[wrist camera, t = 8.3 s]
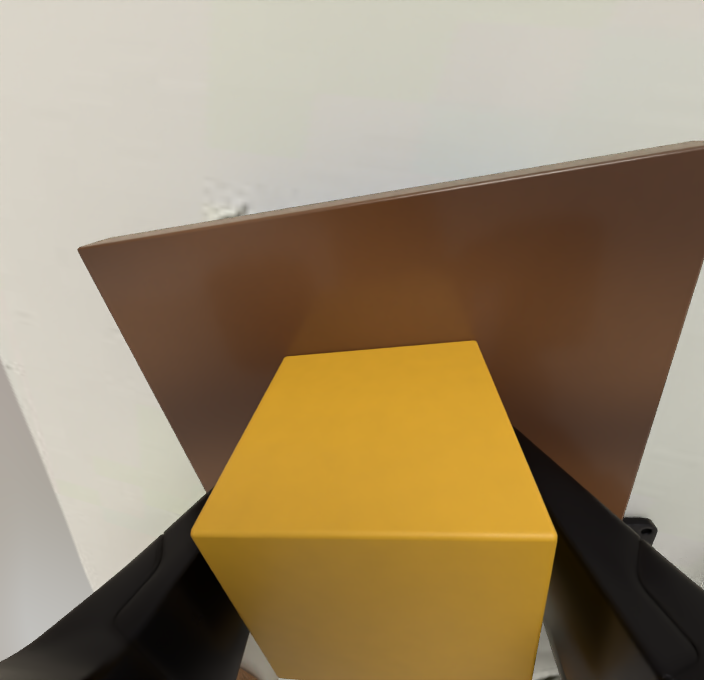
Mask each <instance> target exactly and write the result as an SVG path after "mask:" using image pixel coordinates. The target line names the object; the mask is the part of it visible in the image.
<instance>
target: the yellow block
mask: <svg viewBox="0 0 704 680" xmlns="http://www.w3.org/2000/svg"><path fill="white" fill-rule="evenodd" d="M557 537H558V535H557V533H556V530H555V528H554V526H553V523H552V521H551V518H550V516H549V514H548V511H547V509H546V506H545V504H544V502H543V499H542V497H541V495H540V492H539V490H538V487H537V485H536V483H535V480H534V478H533V475H532V473H531V471H530V468H529V466H528V463H527V461H526V459H525V456H524V454H523V451H522V449H521V447H520V444H519V442H518V439H517V437H516V435H515V432H514V430H513V428H512V425H511V423H510V420H509V418H508V416H507V413H506V411H505V408H504V406H503V404H502V401H501V399H500V396H499V394H498V392H497V389H496V387H495V384H494V382H493V380H492V377H491V375H490V373H489V370H488V368H487V365H486V363H485V361H484V358H483V356H482V353H481V351H480V349H479V346H478V344H477V342H476V341H474V340H471V341H460V342H448V343H436V344H425V345H413V346H402V347H390V348H378V349H367V350H355V351H344V352H332V353H320V354H309V355H297V356H287V357H285V358H284V359H283V361H282V363H281V365H280V367H279V368H278V370H277V372H276V374H275V376H274V378H273V379H272V381H271V383H270V385H269V387H268V389H267V391H266V392H265V394H264V396H263V398H262V400H261V402H260V403H259V405H258V407H257V409H256V411H255V413H254V415H253V416H252V418H251V420H250V422H249V424H248V426H247V427H246V429H245V431H244V433H243V435H242V437H241V439H240V440H239V442H238V444H237V446H236V448H235V450H234V452H233V453H232V455H231V457H230V459H229V461H228V463H227V464H226V466H225V468H224V470H223V472H222V474H221V476H220V477H219V479H218V481H217V483H216V485H215V487H214V488H213V490H212V492H211V494H210V496H209V498H208V500H207V501H206V503H205V505H204V507H203V509H202V511H201V513H200V514H199V516H198V518H197V520H196V522H195V524H194V525H193V527H192V529H191V538H192V539H193V541H194V542H195V544H196V546H197V547H198V549H199V551H200V552H201V554H202V555H203V557H204V559H205V560H206V562H207V563H208V565H209V567H210V568H211V570H212V572H213V573H214V575H215V576H216V578H217V580H218V581H219V583H220V584H221V586H222V588H223V589H224V591H225V593H226V594H227V596H228V597H229V599H230V601H231V602H232V604H233V606H234V607H235V609H236V610H237V612H238V614H239V615H240V617H241V618H242V620H243V622H244V623H245V625H246V627H247V628H248V630H249V631H250V633H251V635H252V636H253V638H254V640H255V641H256V643H257V644H258V646H259V648H260V649H261V651H262V652H263V654H264V656H265V657H266V659H267V661H268V662H269V664H270V665H271V667H272V669H273V670H274V672H275V674H276V675H277V676H278V677H279V678H284V679H296V680H532V676H533V671H534V665H535V660H536V654H537V649H538V643H539V638H540V633H541V627H542V622H543V616H544V611H545V605H546V600H547V594H548V589H549V583H550V578H551V573H552V567H553V562H554V556H555V551H556V545H557Z"/></svg>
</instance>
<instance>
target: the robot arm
mask: <svg viewBox="0 0 704 680" xmlns="http://www.w3.org/2000/svg"><path fill="white" fill-rule="evenodd" d="M512 428H513V430H514V432H515V435H516V437H517V439H518V442H519V444H520V447H521V449H522V451H523V454H524V456H525V459H526V461H527V463H528V466H529V468H530V471H531V473H532V475H533V478H534V480H535V483H536V485H537V487H538V490H539V492H540V495H541V497H542V499H543V502H544V504H545V506H546V509H547V511H548V514H549V516H550V518H551V521H552V523H553V526H554V528H555V530H556V533H557V535H558V537H557V545H556V551H555V556H554V562H553V567H552V573H551V578H550V583H549V589H548V594H547V600H546V605H545V611H544V616H543V623H544V626H545V629H546V633H547V636H548V639H549V642H550V646H551V649H552V652H553V655H554V658H555V662H556V665H557V668H558V671H559V675H560V678H561V680H704V590H703V589H702V588H701V587H699V586H698V585H697V584H696V583H694V582H693V581H692V580H691V579H689V578H688V577H687V576H686V575H685V574H684V573H682V572H681V571H680V570H679V569H678V568H676V567H675V566H674V565H673V564H672V563H670V562H669V561H668V560H667V559H666V558H665V557H663V556H662V555H661V554H660V553H659V552H658V551H656V550H655V549H654V548H653V547H652V544H653V541H654V539H655V536H656V534H657V528H656V526H655V525H654V523H653V522H652V521H651V520H650V519H648V518H623V520H621V519H620V518H618V517H617V516H616V515H615V514H614V513H613V512H612V511H610V510H609V509H608V508H607V507H606V506H605V505H604V504H602V503H601V502H600V501H599V500H598V499H597V498H596V497H594V496H593V495H592V494H591V493H590V492H589V491H588V490H586V489H585V488H584V487H583V486H582V485H581V484H580V483H578V482H577V481H576V480H575V479H574V478H573V477H572V476H570V475H569V474H568V473H567V472H566V471H565V470H564V469H562V468H561V467H560V466H559V465H558V464H557V463H556V462H554V461H553V460H552V459H551V458H550V457H549V456H548V455H546V454H545V453H544V452H543V451H542V450H541V449H540V448H538V447H537V446H536V445H535V444H534V443H533V442H532V441H530V440H529V439H528V438H527V437H526V436H525V435H524V434H522V433H521V432H520V431H519V430H518V429H517V428H515V427H514V426H512ZM214 487H215V486H214ZM214 487H213V488H214ZM213 488H212V489H211V490H209V491H208V492H207V493H206V494H205V495H204V496H203V497H202V498H201V499H200V500H199V501H197V502H196V503H195V504H194V505H193V506H192V507H191V508H190V509H189V510H188V511H187V512H185V513H184V514H183V515H182V516H181V517H180V518H179V519H178V520H177V521H176V522H174V523H173V524H172V525H171V526H170V527H169V528H168V529H167V530H166V531H165V532H164V535H163V534H162V535H160V536H159V537H158V538H157V539H156V540H155V541H154V542H153V543H151V544H150V545H149V546H148V547H147V548H146V549H145V550H144V551H143V552H141V553H140V554H139V555H138V556H137V557H136V558H135V559H133V560H132V561H131V562H130V563H129V564H128V565H127V566H126V567H124V568H123V569H122V570H121V571H120V572H118V573H117V574H116V575H115V576H114V577H112V578H111V579H110V580H109V581H108V582H106V583H105V584H104V585H103V586H102V587H100V588H99V589H98V590H97V591H95V592H94V593H93V594H92V595H90V596H89V597H88V598H87V599H86V600H84V601H83V602H82V603H81V604H79V605H78V606H77V607H76V608H74V609H73V610H72V611H71V612H69V613H68V614H67V615H66V616H64V617H63V618H62V619H61V620H60V621H58V622H57V623H56V624H55V625H53V626H52V627H51V628H50V629H48V630H47V631H46V632H45V633H44V634H42V635H41V636H40V637H38V638H37V639H36V640H35V641H33V642H32V643H30V644H29V645H27V646H26V647H25V648H23V649H22V650H20V651H19V652H17V653H15V654H14V655H12V656H10V657H9V658H7V659H5V660H3V661H1V662H0V680H236V679H237V676H238V672H239V669H240V665H241V662H242V658H243V654H244V651H245V647H246V644H247V640H248V637H249V633H250V631H249V630H248V628H247V627H246V625H245V623H244V622H243V620H242V618H241V617H240V615H239V614H238V612H237V610H236V609H235V607H234V606H233V604H232V602H231V601H230V599H229V597H228V596H227V594H226V593H225V591H224V589H223V588H222V586H221V584H220V583H219V581H218V580H217V578H216V576H215V575H214V573H213V572H212V570H211V568H210V567H209V565H208V563H207V562H206V560H205V559H204V557H203V555H202V554H201V552H200V551H199V549H198V547H197V546H196V544H195V542H194V541H193V539H192V538H191V529H192V527H193V525H194V524H195V522H196V520H197V518H198V516H199V514H200V513H201V511H202V509H203V507H204V505H205V503H206V501H207V500H208V498H209V496H210V494H211V492H212V490H213Z"/></svg>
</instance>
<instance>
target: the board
mask: <svg viewBox="0 0 704 680" xmlns="http://www.w3.org/2000/svg"><path fill="white" fill-rule="evenodd" d="M78 252H79V254H80V256H81V258H82V260H83V262H84V264H85V266H86V267H87V269H88V271H89V273H90V275H91V277H92V279H93V281H94V282H95V284H96V286H97V288H98V290H99V292H100V294H101V296H102V297H103V299H104V301H105V303H106V305H107V307H108V309H109V311H110V313H111V314H112V316H113V318H114V320H115V322H116V324H117V326H118V328H119V329H120V331H121V333H122V335H123V337H124V339H125V341H126V343H127V344H128V346H129V348H130V350H131V352H132V354H133V356H134V358H135V359H136V361H137V363H138V365H139V367H140V369H141V371H142V373H143V374H144V376H145V378H146V380H147V382H148V384H149V386H150V388H151V389H152V391H153V393H154V395H155V397H156V399H157V401H158V403H159V404H160V406H161V408H162V410H163V412H164V414H165V416H166V418H167V419H168V421H169V423H170V425H171V427H172V429H173V431H174V433H175V434H176V436H177V438H178V440H179V442H180V444H181V446H182V448H183V449H184V451H185V453H186V455H187V457H188V459H189V461H190V463H191V464H192V466H193V468H194V470H195V472H196V474H197V476H198V478H199V479H200V481H201V483H202V485H203V487H204V489H205V491H206V493H207V492H208V491H209V490H211V489H212V488H213V487H214V486H215V485H216V483H217V481H218V479H219V477H220V476H221V474H222V472H223V470H224V468H225V466H226V464H227V463H228V461H229V459H230V457H231V455H232V453H233V452H234V450H235V448H236V446H237V444H238V442H239V440H240V439H241V437H242V435H243V433H244V431H245V429H246V427H247V426H248V424H249V422H250V420H251V418H252V416H253V415H254V413H255V411H256V409H257V407H258V405H259V403H260V402H261V400H262V398H263V396H264V394H265V392H266V391H267V389H268V387H269V385H270V383H271V381H272V379H273V378H274V376H275V374H276V372H277V370H278V368H279V367H280V365H281V363H282V361H283V359H284V358H285V357H287V356H297V355H309V354H320V353H332V352H344V351H355V350H367V349H378V348H390V347H402V346H413V345H425V344H436V343H448V342H460V341H471V340H474V341H476V342H477V344H478V346H479V349H480V351H481V353H482V356H483V358H484V361H485V363H486V365H487V368H488V370H489V373H490V375H491V377H492V380H493V382H494V384H495V387H496V389H497V392H498V394H499V396H500V399H501V401H502V404H503V406H504V408H505V411H506V413H507V416H508V418H509V420H510V423H511V425H512V426H514V427H515V428H517V429H518V430H519V431H520V432H521V433H522V434H524V435H525V436H526V437H527V438H528V439H529V440H530V441H532V442H533V443H534V444H535V445H536V446H537V447H538V448H540V449H541V450H542V451H543V452H544V453H545V454H546V455H548V456H549V457H550V458H551V459H552V460H553V461H554V462H556V463H557V464H558V465H559V466H560V467H561V468H562V469H564V470H565V471H566V472H567V473H568V474H569V475H570V476H572V477H573V478H574V479H575V480H576V481H577V482H578V483H580V484H581V485H582V486H583V487H584V488H585V489H586V490H588V491H589V492H590V493H591V494H592V495H593V496H594V497H596V498H597V499H598V500H599V501H600V502H601V503H602V504H604V505H605V506H606V507H607V508H608V509H609V510H610V511H612V512H613V513H614V514H615V515H616V516H617V517H618V518H620V519H621V520H623V517H624V513H625V510H626V507H627V504H628V501H629V497H630V494H631V491H632V488H633V485H634V481H635V478H636V475H637V472H638V469H639V465H640V462H641V459H642V456H643V453H644V449H645V446H646V443H647V440H648V437H649V433H650V430H651V427H652V424H653V421H654V417H655V414H656V411H657V408H658V405H659V401H660V398H661V395H662V392H663V389H664V385H665V382H666V379H667V376H668V373H669V369H670V366H671V363H672V360H673V357H674V353H675V350H676V347H677V344H678V341H679V337H680V334H681V331H682V328H683V325H684V321H685V318H686V315H687V312H688V309H689V305H690V302H691V299H692V296H693V292H694V289H695V286H696V283H697V280H698V276H699V273H700V270H701V267H702V264H703V260H704V141H689V142H683V143H677V144H671V145H665V146H659V147H653V148H647V149H641V150H635V151H629V152H623V153H617V154H611V155H605V156H599V157H593V158H587V159H581V160H575V161H569V162H563V163H557V164H551V165H545V166H539V167H533V168H527V169H521V170H515V171H509V172H503V173H497V174H491V175H485V176H479V177H473V178H467V179H461V180H455V181H449V182H443V183H437V184H431V185H425V186H419V187H413V188H407V189H401V190H394V191H388V192H382V193H376V194H370V195H364V196H358V197H352V198H346V199H340V200H334V201H328V202H322V203H316V204H310V205H304V206H298V207H292V208H286V209H280V210H274V211H268V212H262V213H256V214H250V215H244V216H238V217H232V218H226V219H220V220H214V221H208V222H202V223H196V224H190V225H184V226H178V227H172V228H166V229H160V230H154V231H148V232H142V233H136V234H130V235H124V236H118V237H112V238H108V239H104V240H101V241H98V242H95V243H91V244H88V245H85V246H82V247H79V248H78Z"/></svg>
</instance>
